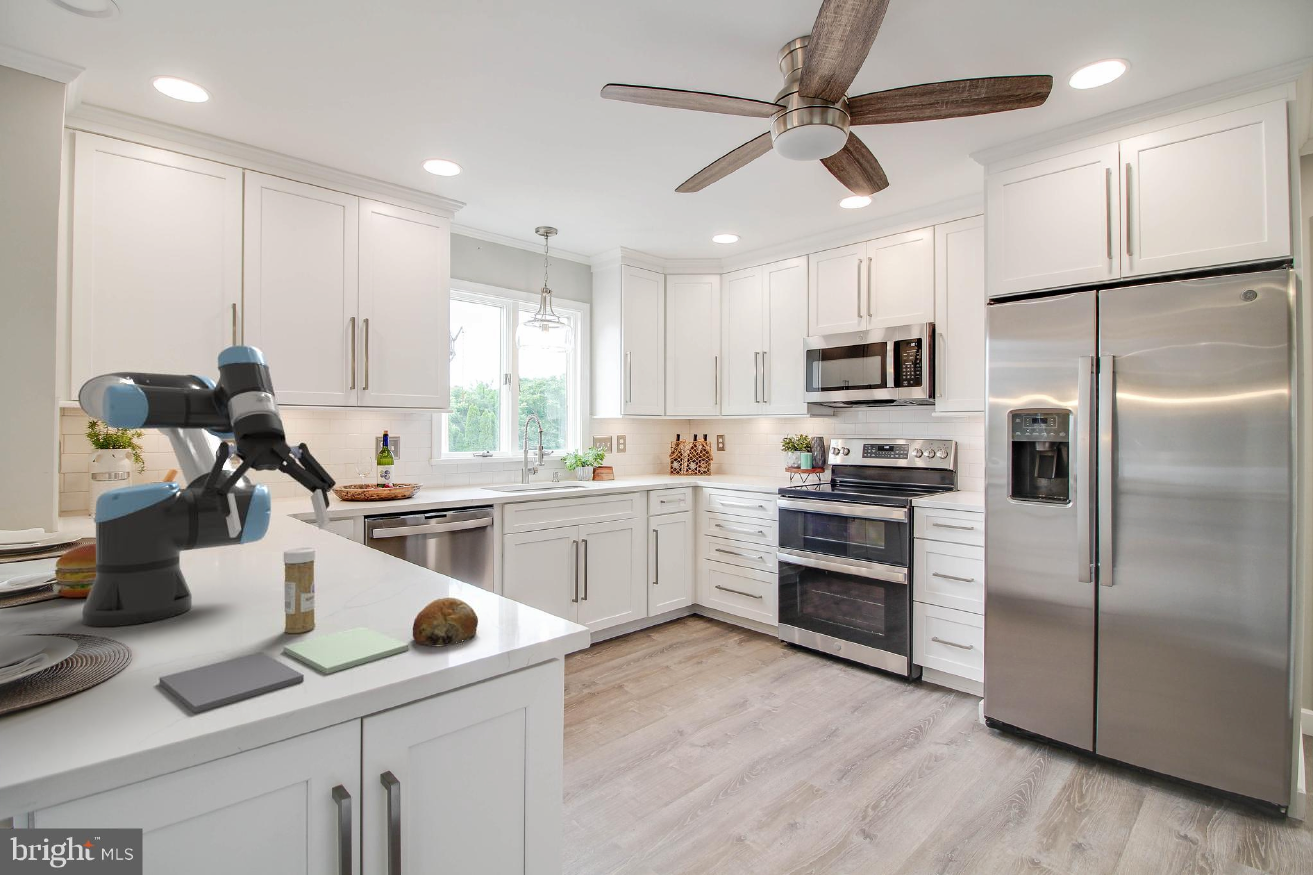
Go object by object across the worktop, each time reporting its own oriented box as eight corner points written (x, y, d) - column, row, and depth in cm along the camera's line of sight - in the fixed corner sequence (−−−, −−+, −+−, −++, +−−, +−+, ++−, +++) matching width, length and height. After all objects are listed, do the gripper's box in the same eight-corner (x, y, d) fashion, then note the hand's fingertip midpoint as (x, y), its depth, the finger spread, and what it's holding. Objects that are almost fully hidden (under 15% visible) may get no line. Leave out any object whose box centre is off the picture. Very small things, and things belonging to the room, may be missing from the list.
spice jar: (316, 631, 103) (316, 550, 103) (284, 636, 101) (284, 553, 100) (314, 623, 107) (313, 545, 107) (283, 628, 104) (282, 548, 104)
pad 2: (283, 651, 93) (283, 646, 93) (362, 631, 103) (362, 626, 103) (327, 673, 85) (326, 668, 85) (408, 649, 94) (408, 644, 94)
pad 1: (159, 683, 82) (159, 677, 82) (261, 657, 91) (261, 651, 91) (195, 713, 73) (195, 706, 73) (303, 680, 82) (303, 674, 82)
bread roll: (483, 656, 102) (495, 606, 105) (446, 647, 93) (461, 594, 96) (433, 649, 105) (446, 601, 108) (393, 640, 96) (409, 588, 100)
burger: (66, 605, 118) (66, 552, 118) (41, 595, 125) (40, 546, 125) (152, 589, 130) (151, 542, 130) (124, 581, 137) (124, 536, 137)
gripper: (177, 407, 99) (200, 525, 92) (336, 414, 119) (365, 512, 112) (164, 432, 103) (185, 548, 96) (320, 435, 123) (347, 532, 115)
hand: (282, 529), depth 104 cm, fingers open, 13 cm apart
